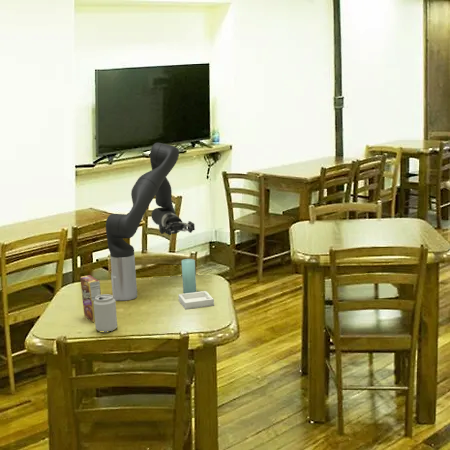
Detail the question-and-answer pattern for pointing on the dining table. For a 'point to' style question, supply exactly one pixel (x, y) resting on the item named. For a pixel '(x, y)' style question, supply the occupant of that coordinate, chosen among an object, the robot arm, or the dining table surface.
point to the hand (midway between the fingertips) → (180, 231)
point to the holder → (196, 300)
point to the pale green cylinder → (188, 276)
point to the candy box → (89, 295)
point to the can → (105, 313)
